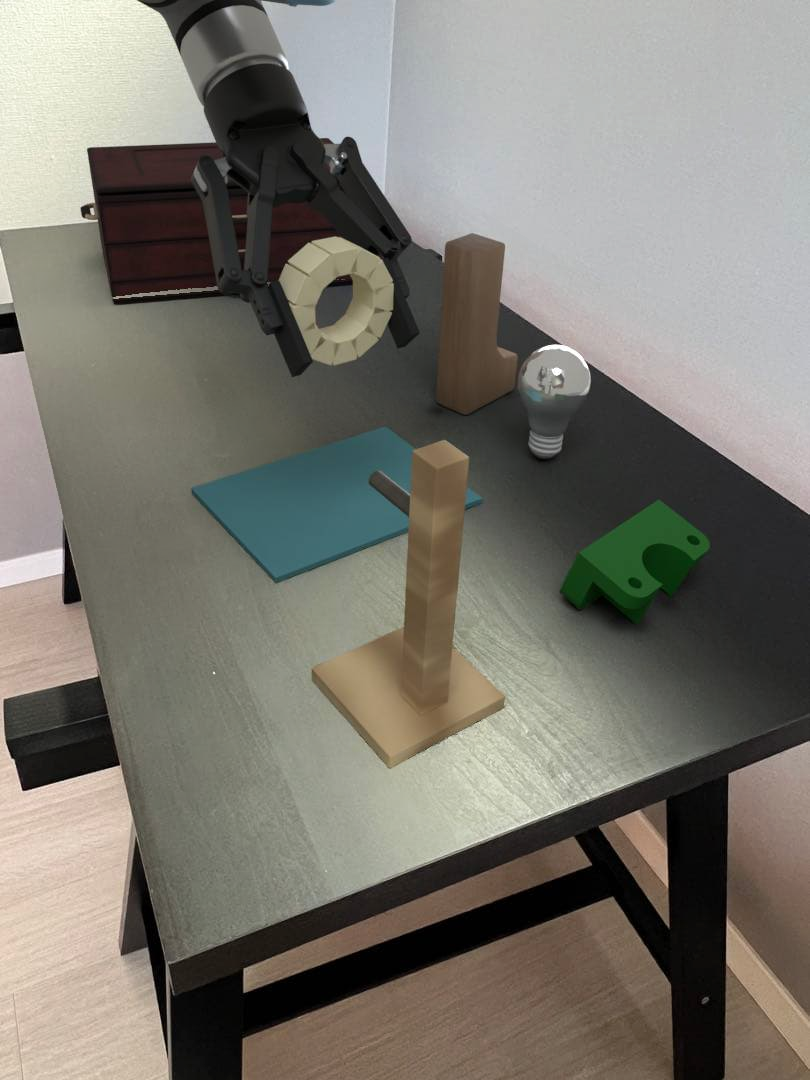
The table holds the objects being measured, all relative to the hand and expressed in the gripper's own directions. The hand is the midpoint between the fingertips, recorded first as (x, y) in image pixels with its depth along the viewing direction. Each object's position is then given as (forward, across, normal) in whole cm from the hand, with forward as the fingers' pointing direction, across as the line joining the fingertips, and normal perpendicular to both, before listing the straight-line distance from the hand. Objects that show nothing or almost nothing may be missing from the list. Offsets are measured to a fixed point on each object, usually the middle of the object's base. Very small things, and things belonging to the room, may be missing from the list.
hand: (357, 354), depth 73 cm
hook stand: (+25, +7, 0) cm, 26 cm away
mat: (+8, -2, -17) cm, 19 cm away
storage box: (-32, -21, -58) cm, 69 cm away
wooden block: (+2, -26, -24) cm, 35 cm away
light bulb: (+12, -24, -14) cm, 30 cm away
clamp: (+26, -15, 0) cm, 30 cm away
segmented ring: (-1, 0, -3) cm, 3 cm away
